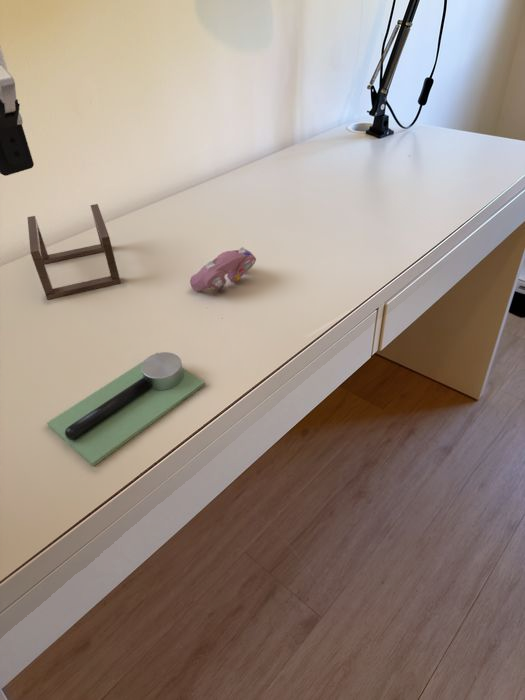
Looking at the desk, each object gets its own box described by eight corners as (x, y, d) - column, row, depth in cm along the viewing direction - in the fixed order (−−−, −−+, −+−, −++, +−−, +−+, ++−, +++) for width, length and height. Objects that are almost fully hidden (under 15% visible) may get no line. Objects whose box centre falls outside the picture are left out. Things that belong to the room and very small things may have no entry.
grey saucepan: (80, 453, 55) (75, 440, 54) (56, 431, 58) (51, 418, 57) (191, 375, 64) (189, 362, 63) (166, 359, 67) (163, 347, 66)
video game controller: (203, 306, 79) (211, 278, 74) (186, 285, 81) (192, 255, 75) (253, 282, 84) (264, 254, 78) (236, 261, 85) (246, 232, 80)
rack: (47, 299, 80) (30, 253, 75) (42, 260, 90) (27, 216, 85) (120, 283, 83) (109, 236, 78) (108, 246, 93) (97, 203, 88)
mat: (93, 466, 55) (92, 463, 54) (47, 425, 59) (46, 422, 59) (205, 385, 64) (204, 381, 63) (157, 355, 68) (157, 352, 68)
